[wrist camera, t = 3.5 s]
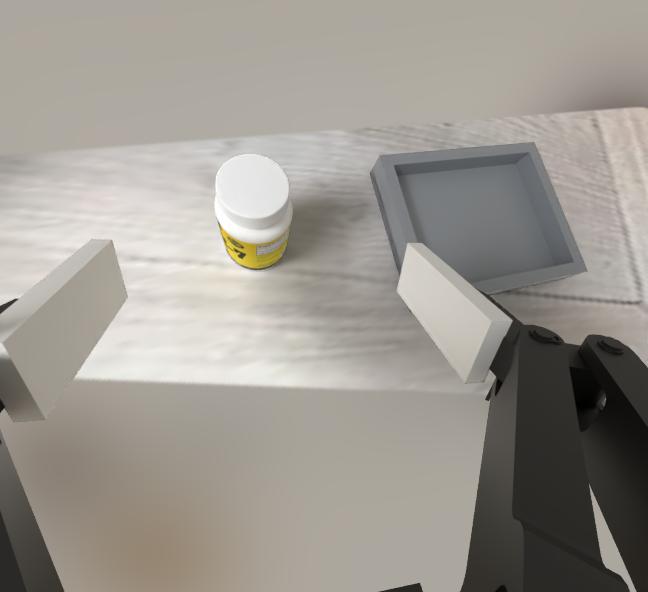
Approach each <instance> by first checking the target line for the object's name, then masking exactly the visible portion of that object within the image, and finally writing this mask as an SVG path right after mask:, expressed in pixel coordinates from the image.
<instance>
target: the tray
mask: <svg viewBox="0 0 648 592" xmlns="http://www.w3.org/2000/svg"><path fill="white" fill-rule="evenodd" d="M370 176H371V179H372V183H373V186H374V190H375V193H376V197H377V200H378V203H379V207H380V210H381V214H382V217H383V221H384V224H385V228H386V231H387V234H388V238H389V241H390V245H391V248H392V252H393V255H394V259H395V262H396V266H397V269H398V272H399V276H400V274H401V270H402V265H403V261H404V257H405V252H406V248H407V243H423V244H424V245H425V246H426V247H427V248H428V249H430V250H431V251H432V252H433V253H434V254H435V255H437V256H438V257H439V258H440V259H441V260H442V261H444V262H445V263H446V264H447V265H448V266H450V267H451V268H452V269H453V270H454V271H455V272H457V273H458V274H459V275H460V276H461V277H462V278H464V279H465V280H466V281H467V282H468V283H469V284H471V285H472V286H473V287H474V288H476V289H478V290H480V291H482V292H484V293H486V294H487V295H491V294H496V293H500V292H505V291H510V290H514V289H519V288H523V287H528V286H533V285H537V284H542V283H547V282H551V281H556V280H560V279H564V278H567V277H570V276H573V275H577V274H580V273H583V272H586V271H587V269H586V266H585V264H584V262H583V259H582V257H581V254H580V252H579V250H578V247H577V245H576V242H575V240H574V237H573V235H572V233H571V230H570V228H569V225H568V223H567V220H566V218H565V216H564V213H563V211H562V208H561V206H560V203H559V201H558V199H557V196H556V194H555V191H554V189H553V187H552V184H551V182H550V179H549V177H548V174H547V172H546V170H545V167H544V165H543V162H542V160H541V157H540V155H539V153H538V150H537V148H536V145H535V143H534V142H531V143H519V144H508V145H496V146H485V147H473V148H462V149H450V150H438V151H427V152H415V153H404V154H392V155H380V156H379V158H378V160H377V161H376V163H375V165H374V167H373V169H372V171H371V173H370ZM409 310H410V309H409ZM410 312H412V311H411V310H410Z"/></svg>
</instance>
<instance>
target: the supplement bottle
mask: <svg viewBox="0 0 648 592" xmlns="http://www.w3.org/2000/svg"><path fill="white" fill-rule="evenodd" d="M215 187H216V197H215V205H214V206H215V214H216V218H217V221H218V224H219V227H220V231H221V234H222V238H223V241H224V244H225V248H226V250H227V253H228V255H229V256H230V258H231V259H232V260H233V261H234V262H235V263H236V264H237V265H238V266H240V267H242V268H244V269H246V270H250V271H264V270H268V269H270V268H272V267H274V266H275V265H277V264H278V263H279V262H280V261H281V259H282V258H283V256H284V254H285V251H286V247H287V242H288V237H289V232H290V226H291V221H292V216H293V205H292V200H291V197H290V184H289V180H288V177H287V175H286V173H285V172H284V170H283V169H282V168H281V166H280V165H279V164H277V163H276V162H275V161H273V160H272V159H270V158H268V157H265V156H263V155H259V154H251V153H249V154H241V155H237V156H235V157H232V158H230V159H229V160H227V161H226V162H225V163H224V164H223V165H222V166H221V168H220V169H219V171H218V173H217V176H216V181H215Z"/></svg>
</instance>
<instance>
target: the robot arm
mask: <svg viewBox="0 0 648 592" xmlns="http://www.w3.org/2000/svg"><path fill="white" fill-rule="evenodd" d="M397 292H398V294H399V295H400V296H401V298H402V299H403V301H404V302H405V303H406V305H407V306H408V307H409V309H410V310H411V311H412V313H413V314H414V315H415V317H416V318H417V319H418V321H419V322H420V324H421V325H422V326H423V328H424V329H425V330H426V332H427V333H428V334H429V336H430V337H431V338H432V340H433V341H434V343H435V344H436V345H437V347H438V348H439V349H440V351H441V352H442V353H443V355H444V356H445V357H446V359H447V360H448V362H449V363H450V364H451V366H452V367H453V368H454V370H455V371H456V372H457V374H458V375H459V376H460V378H461V379H462V380H463V382H464V383H465V384H466V383H478V382H484V380H485V378H486V376H487V374H488V372H489V369H490V370H491V371H492V372H493V373H494V375H495V376H496V379H495V381H494V383H493V385H492V387H491V389H490V391H489V393H488V395H487V397H486V399H485V400H488V401H489V399H490V398H491V399H490V407H489V414H488V420H487V427H486V434H485V441H484V449H483V456H482V463H481V470H480V477H479V484H478V491H477V499H476V505H475V512H474V519H473V526H472V533H471V541H470V548H469V555H468V561H467V569H466V574H465V578H464V583H463V585H462V588H461V591H460V592H630V591H629V588H628V586H627V584H626V583H625V581H624V580H623V579H622V577H621V576H620V575H618V574H616V573H615V572H613V571H611V570H609V569H607V568H606V567H605V566H604V564H603V561H602V558H601V554H600V548H599V542H598V536H597V531H596V524H595V518H594V512H593V506H592V500H591V495H590V488H589V484H590V487H591V489H592V491H593V493H594V496H595V498H596V500H597V502H598V505H599V507H600V509H601V512H602V514H603V516H604V518H605V521H606V523H607V525H608V528H609V530H610V532H611V534H612V536H613V539H614V541H615V543H616V546H617V548H618V550H619V552H620V555H621V557H622V559H623V562H624V564H625V566H626V569H627V571H628V573H629V575H630V578H631V580H632V582H633V584H634V587H635V589H636V591H637V592H648V368H647V366H646V365H645V364H644V363H643V362H642V361H641V360H640V358H639V357H638V356H637V355H636V354H635V353H634V352H633V351H632V350H631V349H630V348H629V347H627V346H626V345H624V344H622V343H621V342H620V341H618V340H616V339H615V340H614V339H613V338H611V337H605V336H602V335H594V334H593V335H588V336H587V337H586V339H585V340H584V342H583V344H582V345H581V346H579V345H573V344H567V343H564V341H563V339H562V338H561V337H559V336H558V335H557V334H555V333H554V332H552V331H550V330H548V329H545V328H543V327H539V326H535V325H523V324H522V323H521V322H520V321H519V320H517V319H516V318H515V317H514V316H513V315H511V314H510V313H509V312H508V311H507V310H505V309H504V308H502V306H501V305H499V304H498V303H496V302H495V300H493V299H492V298H491V297H490V296H489V295H487V294H486V293H484V292H482V291H480V290H478V289H476V288H474V287H473V286H472V285H471V284H469V283H468V282H467V281H466V280H465V279H464V278H462V277H461V276H460V275H459V274H458V273H457V272H455V271H454V270H453V269H452V268H451V267H450V266H448V265H447V264H446V263H445V262H444V261H442V260H441V259H440V258H439V257H438V256H437V255H435V254H434V253H433V252H432V251H431V250H430V249H428V248H427V247H426V246H425V245H424V244H423V243H407V248H406V252H405V257H404V261H403V265H402V270H401V274H400V278H399V283H398V287H397ZM127 298H128V295H127V292H126V288H125V285H124V281H123V278H122V274H121V270H120V267H119V263H118V260H117V256H116V253H115V249H114V245H113V242H112V240H90V241H89V242H88V243H86V244H85V245H84V246H83V247H82V248H80V249H79V250H78V251H77V252H75V253H74V254H73V255H72V256H71V257H69V258H68V259H67V260H66V261H64V262H63V263H62V264H61V265H60V266H58V267H57V268H56V269H55V270H54V271H52V272H51V273H50V274H49V275H47V276H46V277H45V278H44V279H43V280H41V281H40V282H39V283H38V284H36V285H35V286H34V287H33V288H32V289H30V290H29V291H28V292H27V293H25V294H24V295H23V296H22V297H21V298H19V299H14V300H12V301H10V302H8V303H5V304H3V305H1V306H0V412H1V411H2V410H3V409H4V408H5V410H6V411H7V413H8V415H9V416H10V418H11V419H12V421H13V422H26V421H36V420H37V421H38V420H46V419H47V417H48V416H49V414H50V413H51V411H52V409H53V408H54V407H55V405H56V404H57V402H58V401H59V399H60V398H61V396H62V395H63V393H64V392H65V390H66V389H67V387H68V386H69V384H70V383H71V381H72V380H73V378H74V377H75V375H76V374H77V372H78V371H79V369H80V368H81V366H82V365H83V363H84V362H85V360H86V359H87V357H88V356H89V354H90V353H91V351H92V350H93V348H94V347H95V345H96V344H97V342H98V341H99V339H100V338H101V336H102V335H103V333H104V332H105V330H106V329H107V328H108V326H109V325H110V323H111V322H112V320H113V319H114V317H115V316H116V314H117V313H118V311H119V310H120V308H121V307H122V305H123V304H124V302H125V301H126V299H127ZM605 398H606V404H605V406H603V405H602V402H603V401H604V399H605ZM0 592H64V589H63V587H62V584H61V582H60V579H59V577H58V574H57V572H56V569H55V567H54V565H53V562H52V559H51V557H50V554H49V552H48V549H47V547H46V544H45V542H44V539H43V536H42V534H41V531H40V529H39V526H38V524H37V521H36V519H35V516H34V514H33V511H32V509H31V506H30V504H29V501H28V499H27V496H26V494H25V491H24V489H23V486H22V484H21V481H20V479H19V476H18V474H17V471H16V469H15V466H14V463H13V461H12V458H11V456H10V453H9V451H8V448H7V446H6V444H5V441H4V438H3V436H2V433H1V431H0ZM380 592H423V591H422V588H421V585H420V583H417V584H413V585H408V586H403V587H399V588H394V589H389V590H385V591H380Z"/></svg>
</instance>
